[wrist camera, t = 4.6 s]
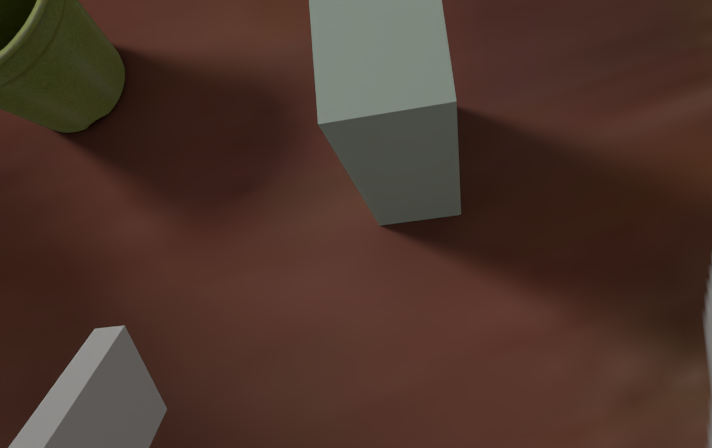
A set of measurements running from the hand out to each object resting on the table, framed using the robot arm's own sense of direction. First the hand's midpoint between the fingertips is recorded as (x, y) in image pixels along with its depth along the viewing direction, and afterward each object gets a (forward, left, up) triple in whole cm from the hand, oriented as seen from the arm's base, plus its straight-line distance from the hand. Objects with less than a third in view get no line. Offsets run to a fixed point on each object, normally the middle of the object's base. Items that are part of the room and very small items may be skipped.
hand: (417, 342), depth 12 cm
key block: (0, +10, -14) cm, 17 cm away
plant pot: (-19, +18, -14) cm, 30 cm away
